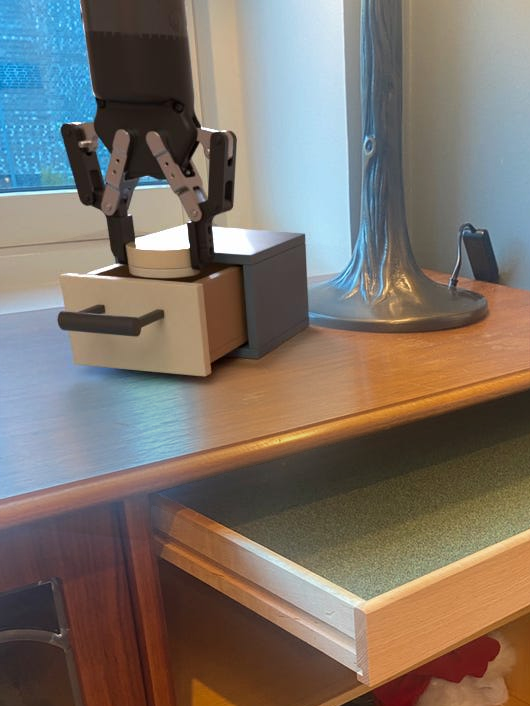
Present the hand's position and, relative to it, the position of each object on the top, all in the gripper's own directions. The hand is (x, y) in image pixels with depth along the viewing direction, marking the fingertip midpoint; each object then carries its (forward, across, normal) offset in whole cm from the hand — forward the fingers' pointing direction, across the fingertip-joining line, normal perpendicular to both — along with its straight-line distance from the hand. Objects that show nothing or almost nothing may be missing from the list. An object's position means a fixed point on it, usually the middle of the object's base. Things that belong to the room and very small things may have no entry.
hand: (164, 265), depth 80 cm
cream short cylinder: (+1, 0, 0) cm, 1 cm away
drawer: (+7, 0, +3) cm, 8 cm away
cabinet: (+8, 0, -11) cm, 14 cm away
